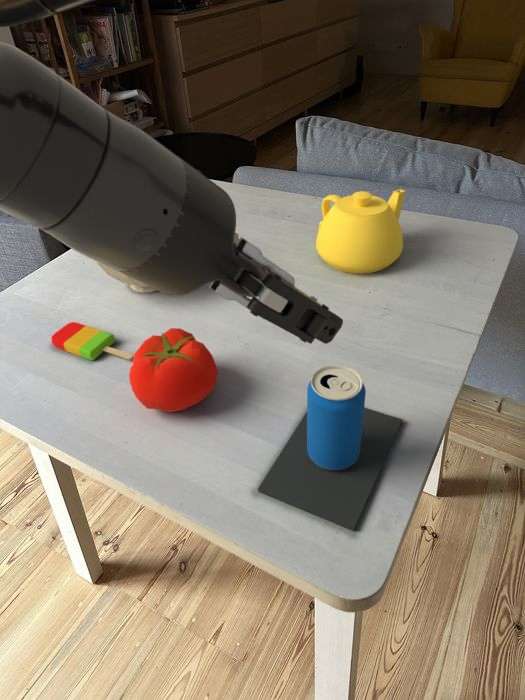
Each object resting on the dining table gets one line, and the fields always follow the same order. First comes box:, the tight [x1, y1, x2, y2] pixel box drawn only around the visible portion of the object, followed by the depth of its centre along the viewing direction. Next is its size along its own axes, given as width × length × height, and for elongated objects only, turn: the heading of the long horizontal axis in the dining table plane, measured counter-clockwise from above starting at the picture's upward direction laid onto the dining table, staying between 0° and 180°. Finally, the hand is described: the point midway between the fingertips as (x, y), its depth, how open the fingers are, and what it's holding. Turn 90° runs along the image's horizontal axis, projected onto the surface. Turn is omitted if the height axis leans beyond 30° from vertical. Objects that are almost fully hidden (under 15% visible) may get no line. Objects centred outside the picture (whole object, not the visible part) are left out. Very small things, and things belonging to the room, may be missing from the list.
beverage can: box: [306, 364, 367, 470], centre depth 63 cm, size 6×6×12 cm
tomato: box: [128, 327, 219, 413], centre depth 75 cm, size 13×12×8 cm
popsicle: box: [50, 321, 134, 361], centre depth 86 cm, size 6×15×2 cm, turn 62°
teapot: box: [315, 188, 406, 275], centre depth 103 cm, size 20×19×13 cm
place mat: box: [257, 407, 403, 532], centre depth 67 cm, size 18×12×1 cm, turn 152°
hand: (299, 305), depth 43 cm, fingers open, 8 cm apart
